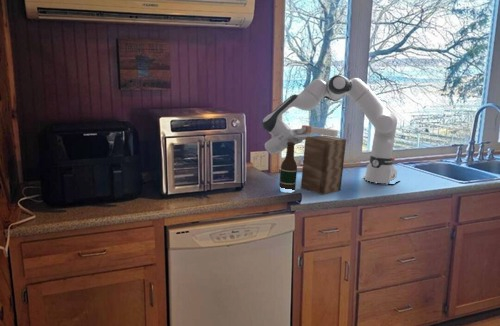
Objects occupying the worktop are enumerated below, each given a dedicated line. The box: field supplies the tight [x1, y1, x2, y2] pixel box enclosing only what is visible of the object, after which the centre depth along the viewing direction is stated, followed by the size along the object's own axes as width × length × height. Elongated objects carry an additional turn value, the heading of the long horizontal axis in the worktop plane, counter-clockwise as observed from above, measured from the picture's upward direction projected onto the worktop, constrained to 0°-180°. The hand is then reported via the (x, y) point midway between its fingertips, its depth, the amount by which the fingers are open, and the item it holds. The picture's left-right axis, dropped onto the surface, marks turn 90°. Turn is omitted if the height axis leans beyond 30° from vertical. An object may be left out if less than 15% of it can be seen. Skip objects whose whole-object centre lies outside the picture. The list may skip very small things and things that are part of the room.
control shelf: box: [300, 135, 347, 195], centre depth 227 cm, size 16×13×26 cm
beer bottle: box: [278, 142, 298, 191], centre depth 218 cm, size 8×8×24 cm
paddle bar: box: [301, 124, 339, 138], centre depth 226 cm, size 2×20×3 cm, turn 46°
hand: (308, 128), depth 231 cm, fingers closed on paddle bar, 2 cm apart
